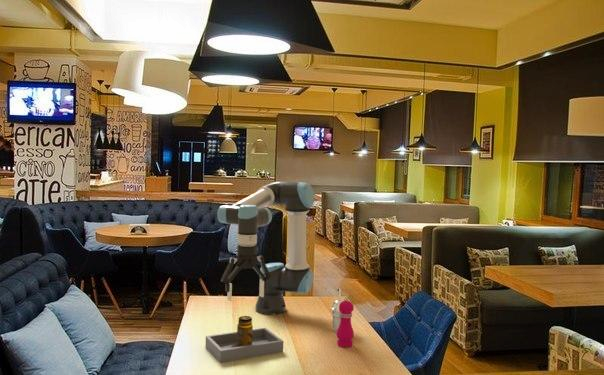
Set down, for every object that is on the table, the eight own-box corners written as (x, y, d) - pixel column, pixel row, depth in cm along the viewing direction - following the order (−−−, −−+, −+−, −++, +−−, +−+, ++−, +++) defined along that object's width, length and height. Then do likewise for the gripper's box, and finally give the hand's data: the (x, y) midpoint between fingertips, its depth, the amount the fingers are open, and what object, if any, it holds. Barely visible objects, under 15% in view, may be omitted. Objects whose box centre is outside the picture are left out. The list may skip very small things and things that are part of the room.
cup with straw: (351, 330, 233) (353, 286, 232) (340, 335, 226) (342, 290, 225) (336, 325, 239) (338, 282, 238) (324, 330, 232) (326, 286, 231)
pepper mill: (357, 345, 216) (359, 297, 214) (346, 349, 210) (348, 300, 209) (343, 340, 220) (345, 293, 219) (332, 344, 215) (334, 297, 214)
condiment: (256, 348, 205) (257, 318, 204) (236, 352, 200) (237, 322, 200) (247, 342, 211) (248, 313, 210) (228, 346, 206) (229, 316, 206)
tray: (265, 338, 220) (265, 327, 220) (283, 352, 205) (283, 341, 205) (205, 347, 207) (205, 336, 207) (220, 362, 192) (220, 350, 192)
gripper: (220, 248, 194) (218, 304, 196) (280, 244, 206) (278, 297, 208) (213, 244, 201) (212, 298, 202) (271, 241, 213) (270, 292, 214)
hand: (245, 298), depth 205 cm, fingers open, 13 cm apart
